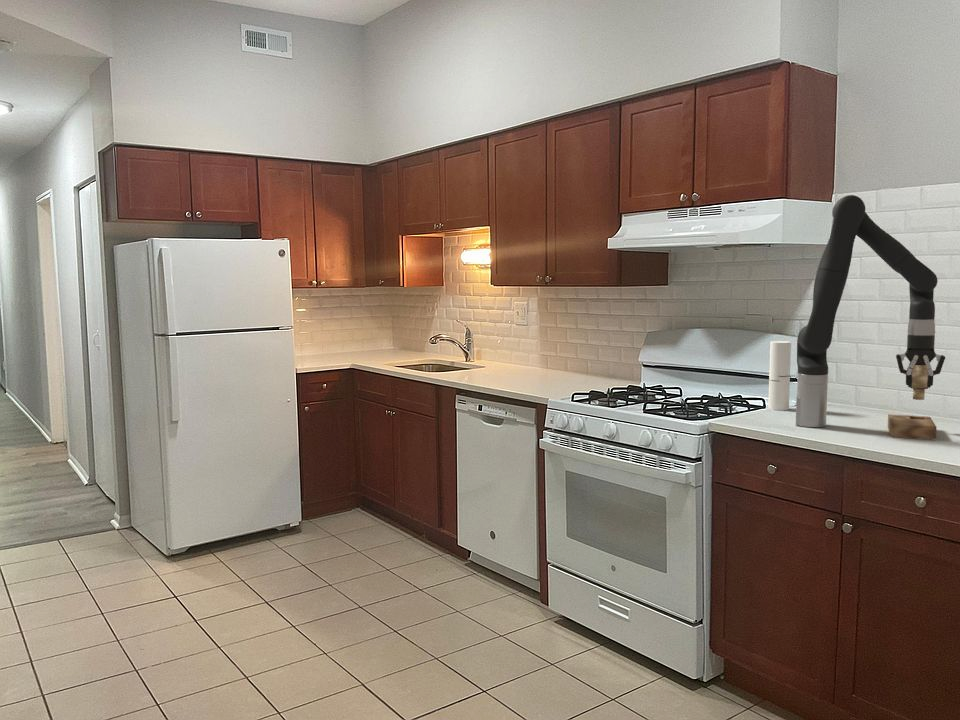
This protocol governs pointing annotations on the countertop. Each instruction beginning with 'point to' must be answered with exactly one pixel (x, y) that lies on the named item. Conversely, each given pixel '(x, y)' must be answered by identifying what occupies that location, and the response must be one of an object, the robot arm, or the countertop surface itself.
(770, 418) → the countertop surface
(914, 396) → the peg
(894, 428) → the board
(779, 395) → the cylindrical container
